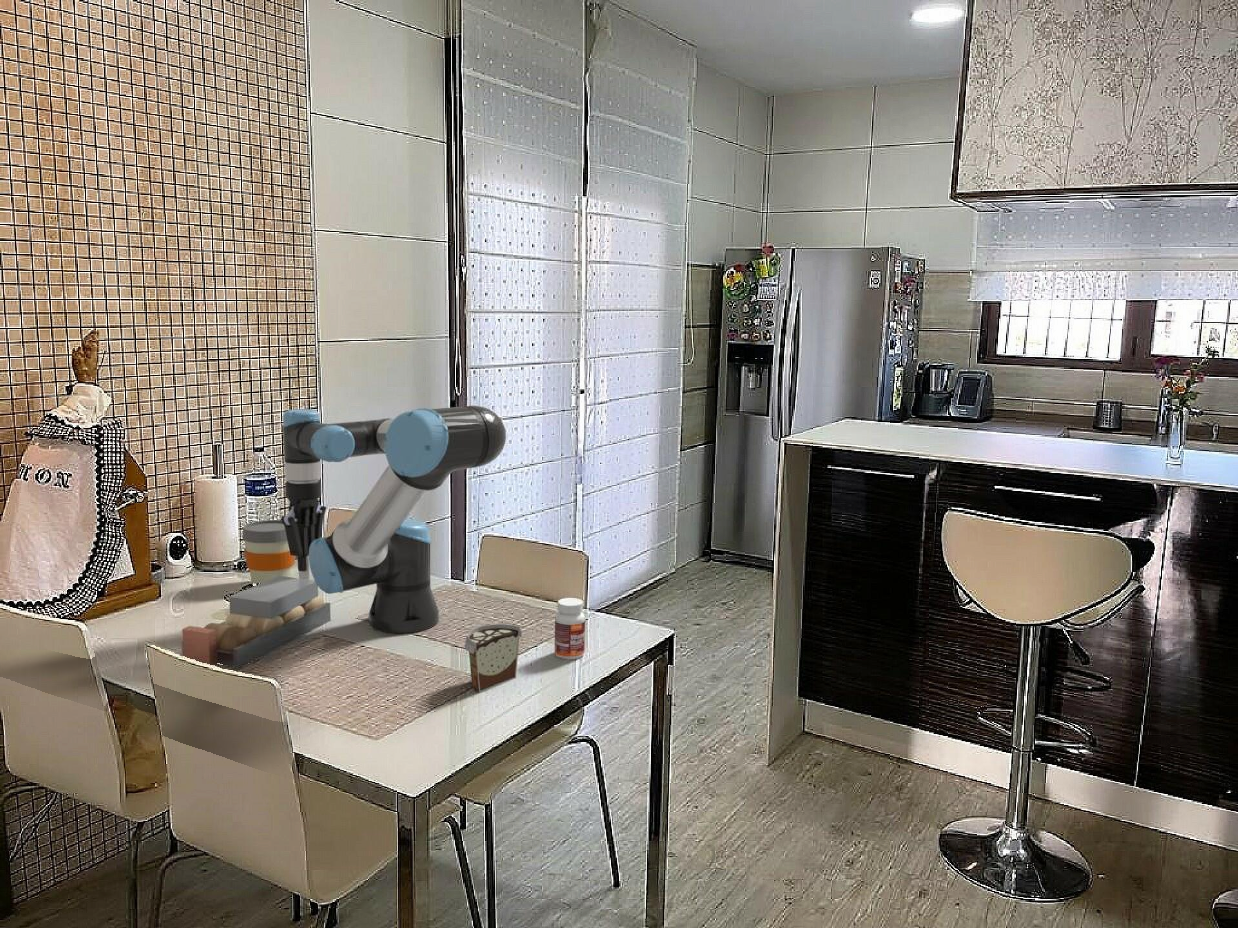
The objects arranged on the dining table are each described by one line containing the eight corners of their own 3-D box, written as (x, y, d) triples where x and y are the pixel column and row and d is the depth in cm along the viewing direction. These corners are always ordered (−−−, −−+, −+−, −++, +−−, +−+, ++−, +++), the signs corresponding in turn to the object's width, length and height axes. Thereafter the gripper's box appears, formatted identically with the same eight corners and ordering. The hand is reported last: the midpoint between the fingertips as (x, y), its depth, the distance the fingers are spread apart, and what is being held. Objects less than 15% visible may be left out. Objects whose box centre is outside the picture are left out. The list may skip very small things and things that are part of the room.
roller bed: (330, 620, 207) (329, 585, 205) (225, 676, 175) (223, 635, 174) (280, 613, 210) (279, 578, 209) (169, 666, 179) (167, 626, 177)
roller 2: (285, 637, 194) (282, 611, 192) (266, 650, 188) (263, 622, 187) (245, 631, 197) (242, 605, 195) (225, 643, 191) (222, 616, 190)
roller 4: (325, 616, 207) (323, 591, 206) (309, 627, 202) (306, 602, 200) (287, 611, 210) (284, 586, 208) (270, 622, 204) (267, 596, 203)
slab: (318, 596, 204) (317, 580, 203) (271, 619, 189) (270, 602, 188) (279, 590, 207) (278, 575, 206) (230, 613, 192) (229, 596, 191)
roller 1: (253, 660, 186) (260, 629, 187) (234, 658, 180) (241, 627, 181) (216, 654, 188) (223, 624, 190) (195, 652, 183) (203, 621, 184)
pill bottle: (574, 662, 186) (575, 608, 184) (548, 656, 189) (549, 602, 187) (590, 652, 191) (591, 600, 189) (564, 647, 194) (565, 594, 192)
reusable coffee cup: (297, 575, 239) (295, 518, 236) (299, 589, 227) (297, 530, 225) (244, 579, 234) (242, 521, 232) (244, 594, 223) (241, 533, 220)
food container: (499, 667, 183) (499, 618, 181) (521, 675, 179) (521, 626, 177) (450, 685, 173) (450, 634, 172) (473, 695, 170) (473, 643, 168)
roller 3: (306, 627, 201) (303, 601, 199) (288, 638, 195) (286, 612, 193) (266, 621, 203) (264, 595, 202) (248, 632, 198) (245, 606, 196)
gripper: (307, 473, 211) (310, 573, 215) (269, 483, 199) (273, 589, 203) (335, 476, 209) (338, 577, 213) (298, 486, 197) (302, 594, 201)
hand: (306, 583), depth 208 cm, fingers closed
